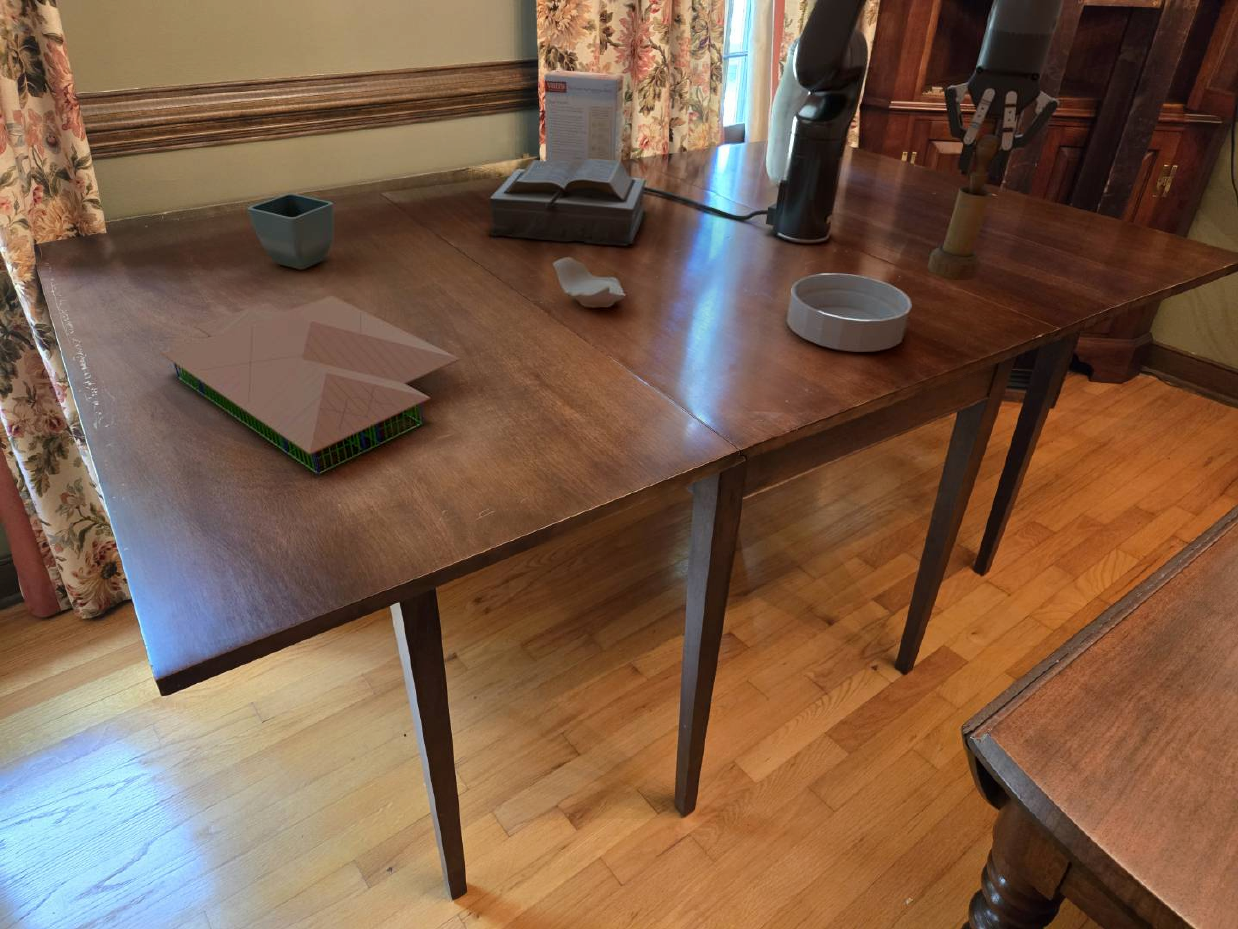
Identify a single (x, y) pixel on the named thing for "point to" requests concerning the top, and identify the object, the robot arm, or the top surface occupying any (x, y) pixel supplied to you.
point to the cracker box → (583, 116)
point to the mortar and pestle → (966, 220)
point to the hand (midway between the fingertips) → (979, 175)
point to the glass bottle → (783, 118)
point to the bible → (570, 203)
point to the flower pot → (294, 229)
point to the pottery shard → (587, 284)
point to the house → (310, 372)
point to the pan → (848, 312)
